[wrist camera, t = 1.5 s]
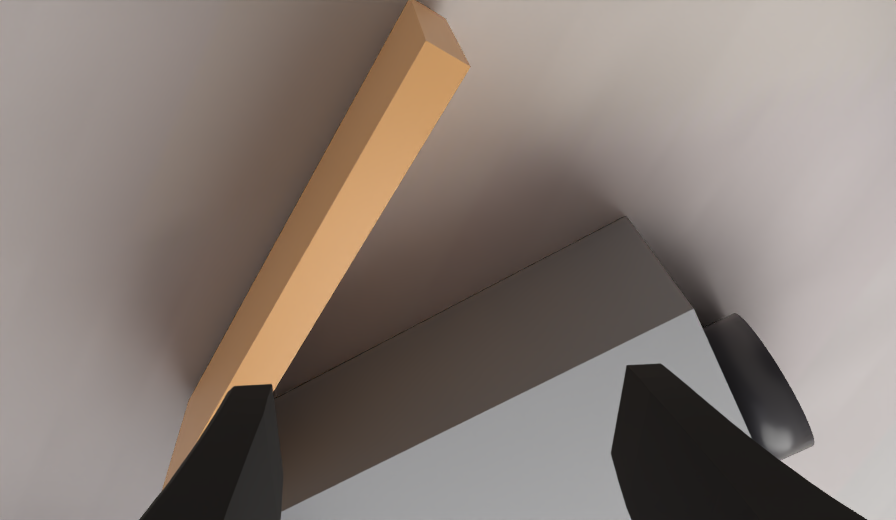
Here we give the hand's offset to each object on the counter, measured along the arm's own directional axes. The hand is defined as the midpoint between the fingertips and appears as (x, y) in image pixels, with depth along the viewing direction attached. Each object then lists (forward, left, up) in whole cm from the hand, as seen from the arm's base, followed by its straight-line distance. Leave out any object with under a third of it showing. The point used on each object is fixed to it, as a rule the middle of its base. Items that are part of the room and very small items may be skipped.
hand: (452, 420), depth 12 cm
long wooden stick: (-3, +1, -9) cm, 10 cm away
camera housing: (-3, -10, -9) cm, 14 cm away
